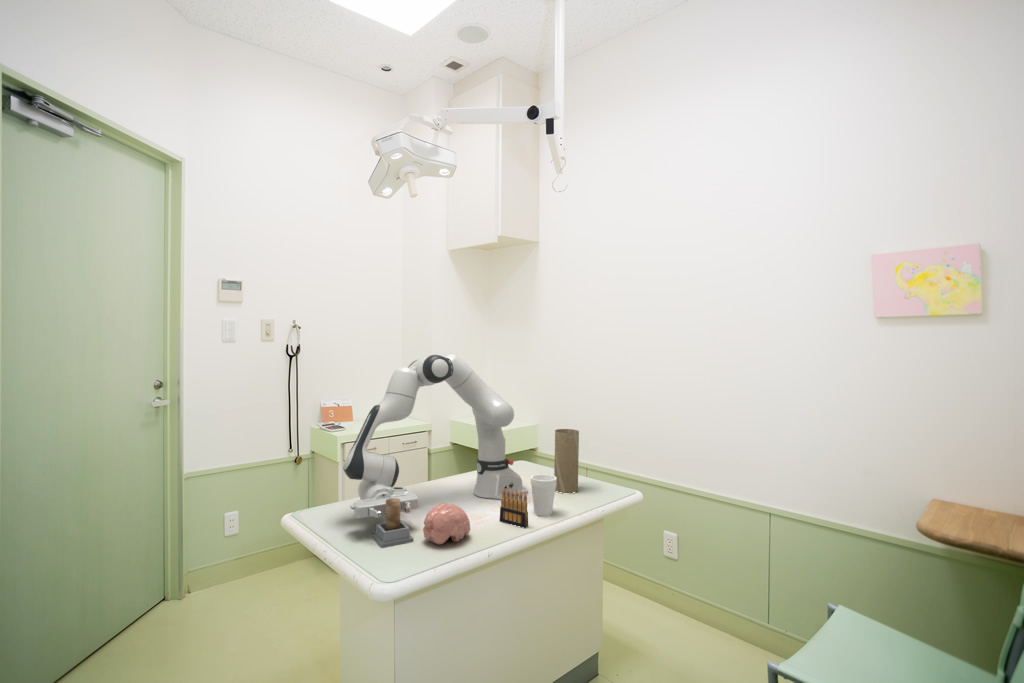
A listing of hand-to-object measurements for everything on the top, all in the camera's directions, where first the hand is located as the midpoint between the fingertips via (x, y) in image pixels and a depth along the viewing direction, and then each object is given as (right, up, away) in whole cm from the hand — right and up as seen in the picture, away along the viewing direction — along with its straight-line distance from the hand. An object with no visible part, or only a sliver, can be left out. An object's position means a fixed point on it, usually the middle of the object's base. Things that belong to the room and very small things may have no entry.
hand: (393, 512), depth 156 cm
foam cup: (+48, -10, +27) cm, 56 cm away
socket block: (-1, -8, +1) cm, 9 cm away
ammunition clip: (+37, -9, +16) cm, 41 cm away
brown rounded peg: (-1, -7, +1) cm, 8 cm away
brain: (+17, -9, +1) cm, 19 cm away
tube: (+59, -10, +56) cm, 82 cm away
